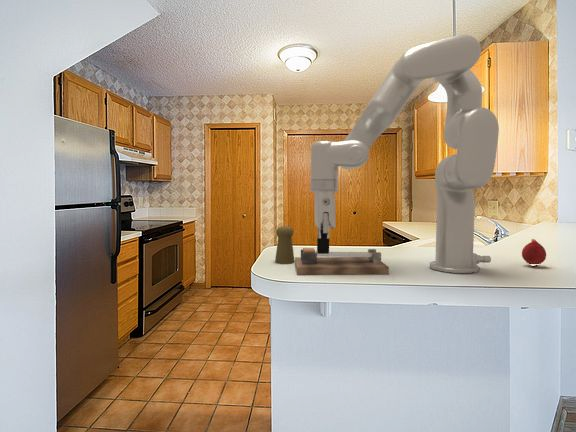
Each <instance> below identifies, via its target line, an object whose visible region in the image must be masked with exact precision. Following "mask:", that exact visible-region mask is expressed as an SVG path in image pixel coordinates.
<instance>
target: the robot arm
mask: <svg viewBox="0 0 576 432" xmlns="http://www.w3.org/2000/svg"><path fill="white" fill-rule="evenodd" d="M481 53H482V47H481V44H480V42H479V41H478V39H477V38H475V37H474V36H472V35H469V34H459V35H454V36H450V37H445V38H442V39H439V40H434V41H430V42H427V43H426V42H425V43H423V44H419V45H417V46H414V47H410V48H409V49H407V50H406V51H405V52H404V53H403V54H402V55H401V57H399V59H398V60H397V61H396V62H395V63H394V64H393V66H392V67H391V69H390V71H389V72H388V73H387V75H386V76H385V78H384V80H382V82H381V84H380V85H379V87H378V89H377V90H376V91H375V93H374V94H373V96H372V97H371V99H370V100H369V102H368V103H367V104H366V106H365V108H364V110H363V111H362V113H361V115H360V117H359V118H358V119H357V121H356V122H355V124H354V125H353V127H352V129H351V130H350V131H349V133H348V134H347V136H346V137H345V139H344V140H341V141H333V140H331V141H330V140H318V141H315V142H313V143H312V144H311V147H310V186H309V187H310V188H309V189H310V191H309V192H310V193H314V201H313V202H314V206H313V207H314V209H313V211H314V226H316V227H317V238H316V243H317V244H316V252H318V253H329V252H330V228H331V229H336V227H337V226H336V197H335V195H336V194H335V193H338V191H339V167H341V168H342V169H344V170H349V171H350V170H354V169H358V168H361V167H362V166H363V165H365V164H366V163H367V162H368V159H369V157H370V148H371V147H372V145H373V144H374V143H375V142H376V140H377V139H378V138H379V137H380V136H381V134H383V133H384V132H385V131H386V130H387V129H388V128H389V127H391V125H392V124H393V123H394V122H395V121H396V119H397V118H398V117H399V115H400V113H401V112H402V110H403V108H404V107H406V104H407V103H408V102H409V100H410V99H411V98H412V96H413V94H414V93H415V92H416V90H417V89H418V87H419V86H420V84H421V83H422V82H424V81H425V80H427V79H431V78H433V79H434V80H436V81H437V82H438V83H439V84H440V85H441V86H442V87H443V89H444V90H445V93H446V98H447V101H446V114H445V120H444V121H445V122H444V123H445V124H444V128H443V139H444V142H445V144H446V145H447V146H448V148H451V149H454V150H456V153H455V154H451V155H447V156H446V157H444V158H443V159H442V160H441V161H440V162H439V163H438V164H437V165H436V169H435V172H434V173H435V174H434V181H435V182H434V183H435V190H436V224H435V225H436V228H435V229H436V230H435V233H436V235H435V257H434V258H435V259H434V260H432V261H430V262H429V265H428V266H429V268H431V269H432V270H435V271H438V272H444V273H450V272H451V273H453V274H473V273H472V272H474V273H478V272H479V270H480V266H479V264H480V263H483V264H484V263H491V262H492V257H491V256H490V255H479V254H477V253H476V252H474V241H475V240H474V237H475V213H476V201H475V195H474V191H473V190H477V189H480V188H482V187H484V186H485V185H487V184H488V183H489V181H490V180H491V179H492V176H493V175H494V172H495V165H496V159H497V158H496V157H497V152H498V151H497V149H498V142H499V134H500V128H499V127H500V126H499V121H498V119H497V117H496V115H495V113H494V112H493V111H492V110H491V109H488V108H486V107H483V106H482V105H483V86H482V84H481V81H480V80H479V79H478V77H477V75H476V74H475V73H474V72H473V71H472V70H471V69H473V67H475V65H476V64H477V63H478V61H479V60H480V58H481Z"/></svg>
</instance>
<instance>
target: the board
mask: <svg viewBox="0 0 576 432" xmlns="http://www.w3.org/2000/svg"><path fill="white" fill-rule="evenodd" d="M314 250H315V251H316V249H315V248H314ZM367 252H373V257H317V253H303V248H302V249H300V256H297V257H296V256H294V261H295V263H294V265H295V271H296V275H297V276H320V275H321V276H332V275H333V276H339V275H340V276H341V275H342V276H343V275H344V276H347V275H348V276H349V275H351V276H353V275H360V276H361V275H362V276H363V275H365V276H366V275H367V276H368V275H389V273H390V272H389V271H390V267H389V265H387V264H385V262H383V261H382V252H381V251H377V249H376V248H369V249H367Z"/></svg>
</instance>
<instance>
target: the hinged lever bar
mask: <svg viewBox="0 0 576 432" xmlns="http://www.w3.org/2000/svg"><path fill="white" fill-rule="evenodd" d="M302 249H303V253H317V257H373V252H368V251H329V253H318V252H317V251H316V249H315V248H314V247H303V248H302ZM314 249H315V250H314Z"/></svg>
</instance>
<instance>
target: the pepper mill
mask: <svg viewBox="0 0 576 432" xmlns="http://www.w3.org/2000/svg"><path fill="white" fill-rule="evenodd" d="M275 233H276V236H277V244H276V245H277V246H276V251H275V261H274V263H275V264H279V265H292V264H295V263H294V262H295V255H294V246H293V238H292V237H293V236H294V229H293V228H292V227H291V226H286V225H283V226H279V227H277V229H276V232H275Z"/></svg>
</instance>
